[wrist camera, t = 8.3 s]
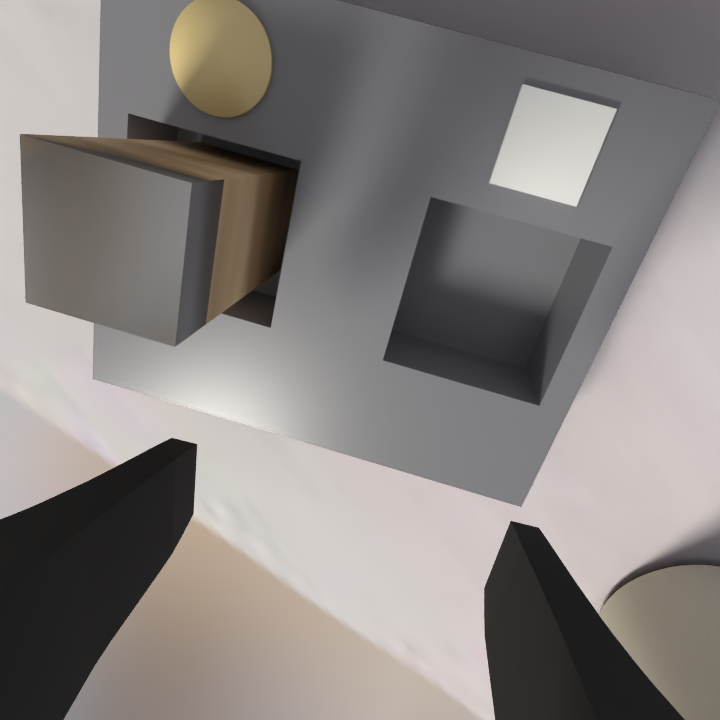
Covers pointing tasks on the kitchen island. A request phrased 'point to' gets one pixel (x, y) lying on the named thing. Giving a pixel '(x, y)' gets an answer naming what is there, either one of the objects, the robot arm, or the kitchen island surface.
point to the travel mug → (673, 634)
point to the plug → (148, 230)
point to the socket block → (401, 225)
